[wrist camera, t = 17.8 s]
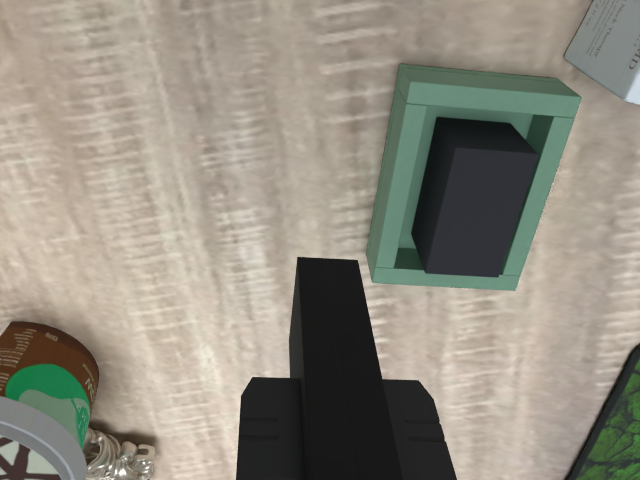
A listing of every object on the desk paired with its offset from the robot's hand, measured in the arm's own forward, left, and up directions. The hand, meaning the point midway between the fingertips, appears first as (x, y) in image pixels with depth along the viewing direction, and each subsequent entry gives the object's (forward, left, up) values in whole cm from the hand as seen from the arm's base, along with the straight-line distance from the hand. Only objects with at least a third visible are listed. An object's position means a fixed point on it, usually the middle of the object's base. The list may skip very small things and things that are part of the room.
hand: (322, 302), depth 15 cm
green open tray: (+6, +10, -22) cm, 25 cm away
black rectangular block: (+6, +10, -21) cm, 24 cm away
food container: (+24, -15, -22) cm, 35 cm away
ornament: (+33, -12, -22) cm, 41 cm away
